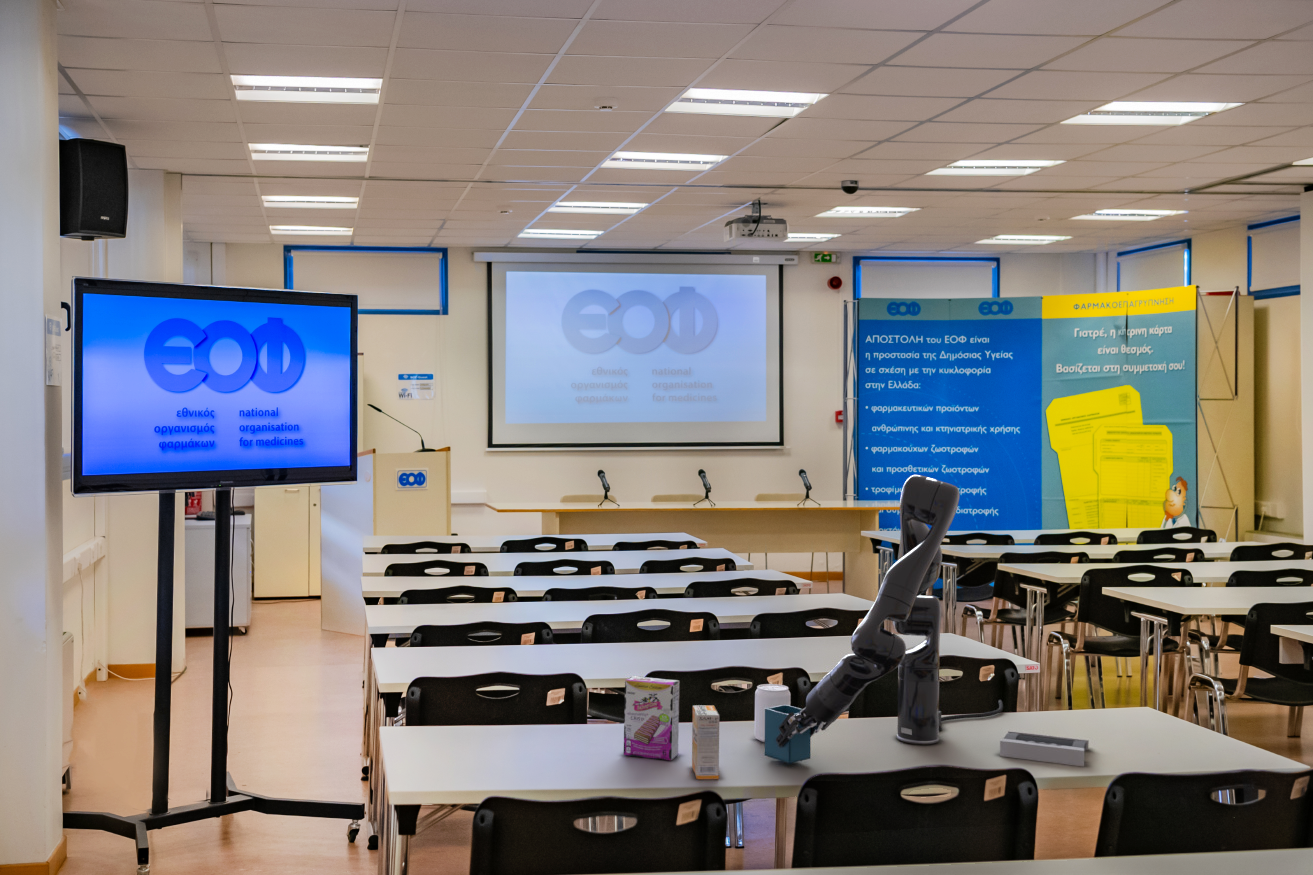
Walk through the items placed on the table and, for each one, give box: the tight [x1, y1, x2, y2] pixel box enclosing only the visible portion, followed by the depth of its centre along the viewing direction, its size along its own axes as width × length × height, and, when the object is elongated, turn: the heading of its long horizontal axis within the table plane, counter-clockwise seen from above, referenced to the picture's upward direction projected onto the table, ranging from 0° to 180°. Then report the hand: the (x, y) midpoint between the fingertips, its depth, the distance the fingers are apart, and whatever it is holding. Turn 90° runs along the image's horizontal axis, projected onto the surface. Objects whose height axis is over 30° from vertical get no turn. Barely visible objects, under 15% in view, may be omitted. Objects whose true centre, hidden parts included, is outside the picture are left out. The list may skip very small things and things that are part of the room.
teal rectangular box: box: [764, 705, 812, 764], centre depth 233 cm, size 10×6×8 cm
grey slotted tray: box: [999, 730, 1090, 767], centre depth 244 cm, size 17×5×16 cm
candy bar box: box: [623, 675, 681, 761], centre depth 237 cm, size 11×5×16 cm, turn 71°
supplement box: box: [691, 704, 720, 780], centre depth 224 cm, size 8×5×13 cm, turn 5°
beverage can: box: [753, 683, 792, 743], centre depth 251 cm, size 8×8×12 cm
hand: (790, 741), depth 232 cm, fingers closed on teal rectangular box, 6 cm apart
